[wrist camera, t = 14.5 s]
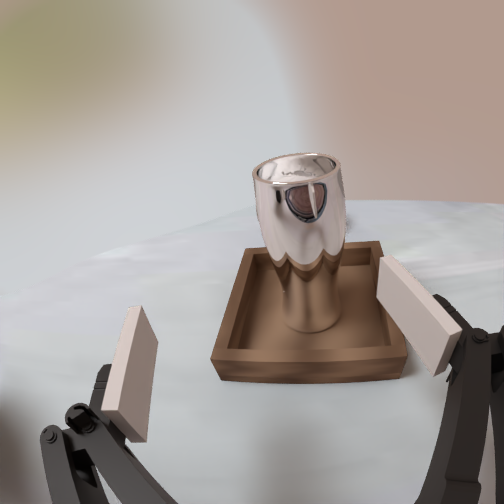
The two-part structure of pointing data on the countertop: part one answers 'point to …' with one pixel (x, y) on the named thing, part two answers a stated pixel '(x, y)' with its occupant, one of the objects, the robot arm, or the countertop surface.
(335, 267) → the beer glass
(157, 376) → the countertop surface
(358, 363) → the tray
